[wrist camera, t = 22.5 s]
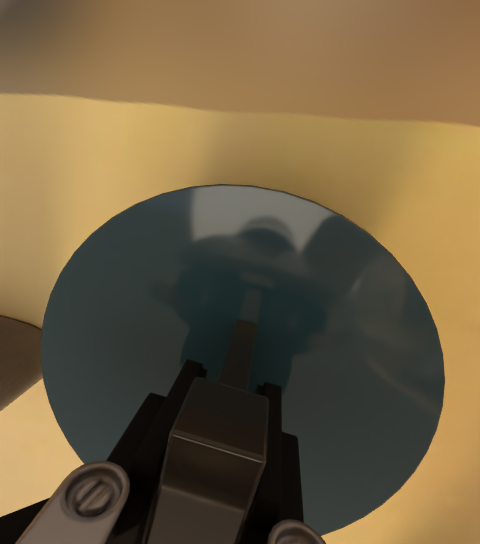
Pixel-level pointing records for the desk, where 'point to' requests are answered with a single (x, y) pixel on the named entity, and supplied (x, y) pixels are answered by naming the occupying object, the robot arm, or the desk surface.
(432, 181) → the desk surface
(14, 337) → the flask
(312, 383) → the lid
